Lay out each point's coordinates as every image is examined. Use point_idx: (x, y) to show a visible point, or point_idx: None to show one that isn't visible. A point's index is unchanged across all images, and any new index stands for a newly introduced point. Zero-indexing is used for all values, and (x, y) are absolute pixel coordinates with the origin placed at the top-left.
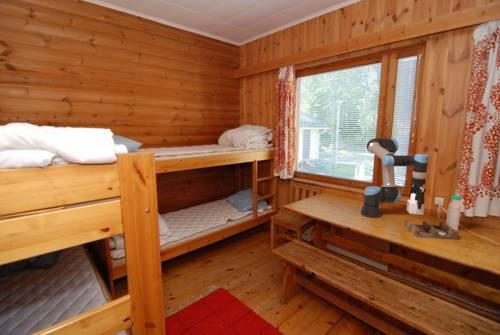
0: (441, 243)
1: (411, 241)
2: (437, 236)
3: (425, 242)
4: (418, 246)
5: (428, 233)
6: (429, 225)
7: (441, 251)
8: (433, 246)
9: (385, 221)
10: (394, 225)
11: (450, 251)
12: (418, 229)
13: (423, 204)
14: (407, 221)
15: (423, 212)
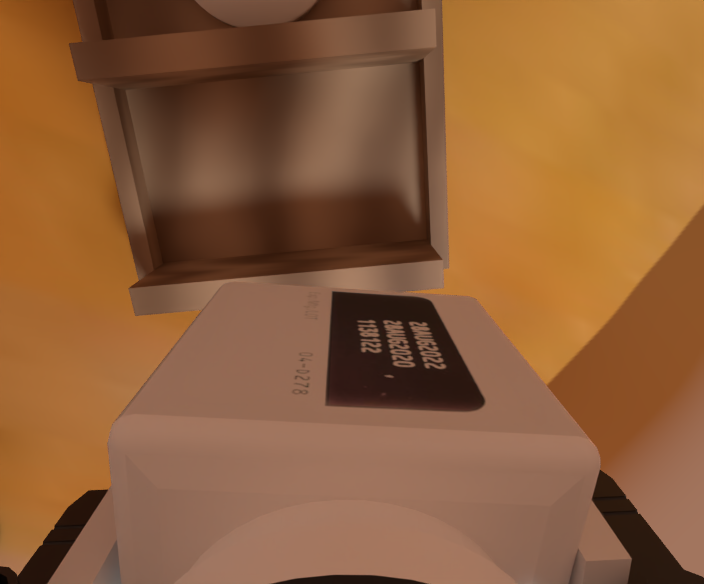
0: (518, 40)
1: (509, 329)
2: (442, 40)
3: (514, 206)
4: (605, 305)
5: (310, 88)
6: (256, 57)
7: (694, 134)
8: (595, 164)
9: (54, 422)
10: (141, 366)
11: (693, 37)
12: (437, 271)
13: (595, 478)
14: (186, 310)
15: (491, 319)
